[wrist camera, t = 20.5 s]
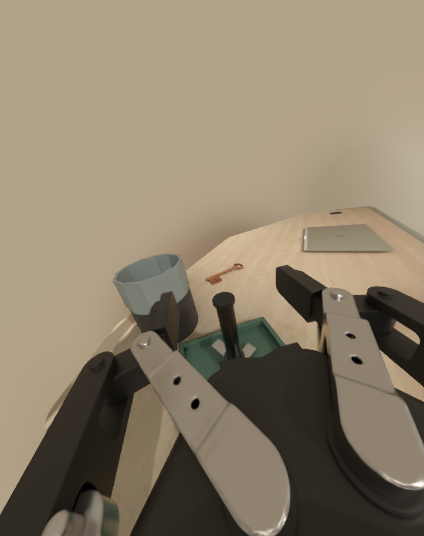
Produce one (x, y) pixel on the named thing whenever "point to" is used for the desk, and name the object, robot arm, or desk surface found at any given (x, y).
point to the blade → (229, 329)
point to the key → (221, 274)
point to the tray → (208, 357)
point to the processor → (157, 289)
